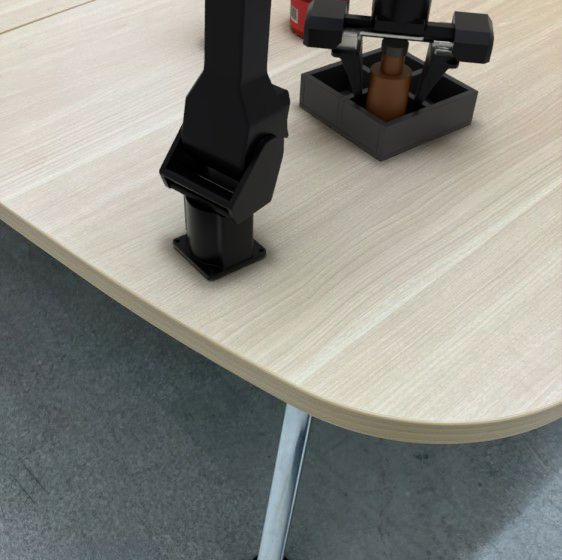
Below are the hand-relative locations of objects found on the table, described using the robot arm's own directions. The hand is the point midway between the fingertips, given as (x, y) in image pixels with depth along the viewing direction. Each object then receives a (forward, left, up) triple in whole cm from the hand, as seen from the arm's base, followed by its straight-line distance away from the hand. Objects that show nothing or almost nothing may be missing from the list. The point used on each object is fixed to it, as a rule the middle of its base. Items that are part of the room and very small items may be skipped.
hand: (386, 108), depth 86 cm
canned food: (+25, -11, -4) cm, 28 cm away
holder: (+3, -3, -3) cm, 6 cm away
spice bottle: (0, 0, -3) cm, 3 cm away
